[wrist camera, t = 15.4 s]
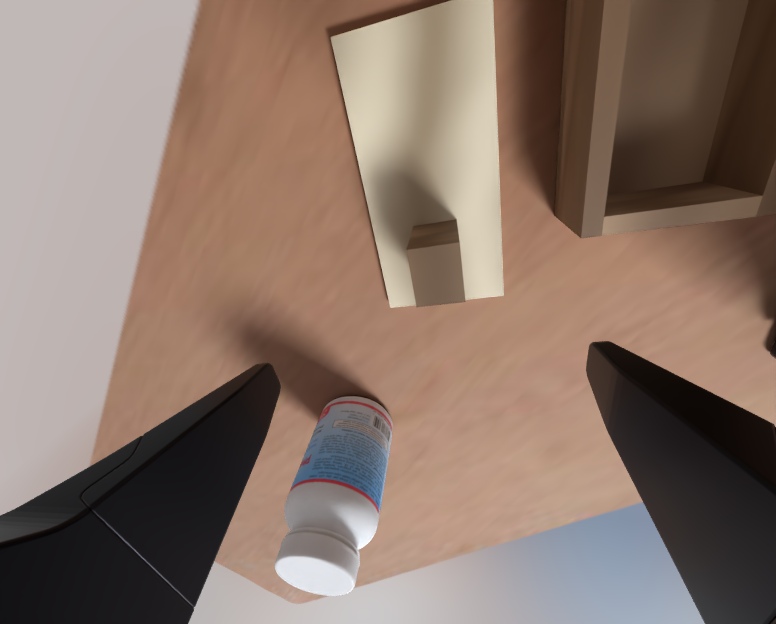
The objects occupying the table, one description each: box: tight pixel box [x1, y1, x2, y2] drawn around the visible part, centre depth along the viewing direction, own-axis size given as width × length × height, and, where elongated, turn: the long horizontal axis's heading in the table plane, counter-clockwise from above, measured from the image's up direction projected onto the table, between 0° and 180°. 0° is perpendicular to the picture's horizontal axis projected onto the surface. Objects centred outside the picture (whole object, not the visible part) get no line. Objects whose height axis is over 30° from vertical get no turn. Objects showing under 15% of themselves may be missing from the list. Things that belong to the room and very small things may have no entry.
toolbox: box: [554, 0, 776, 238], centre depth 11 cm, size 10×14×5 cm
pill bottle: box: [275, 396, 393, 596], centre depth 23 cm, size 6×6×11 cm
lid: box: [331, 0, 504, 308], centre depth 16 cm, size 7×14×5 cm, turn 11°
